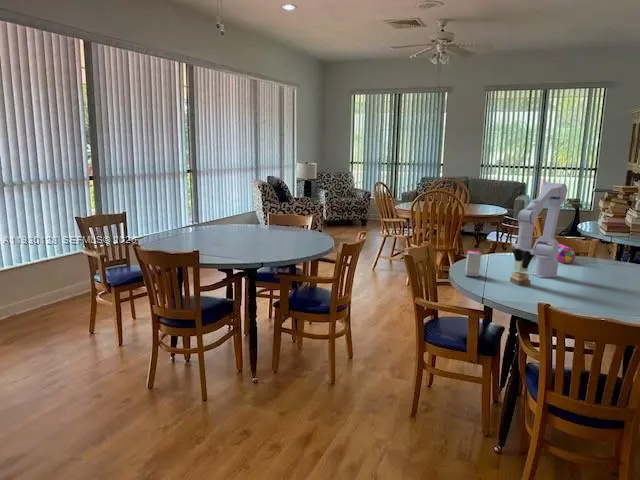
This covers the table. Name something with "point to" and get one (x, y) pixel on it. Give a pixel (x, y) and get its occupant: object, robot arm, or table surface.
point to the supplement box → (472, 264)
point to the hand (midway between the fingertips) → (521, 266)
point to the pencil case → (565, 254)
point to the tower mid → (520, 276)
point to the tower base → (520, 281)
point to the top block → (519, 267)
